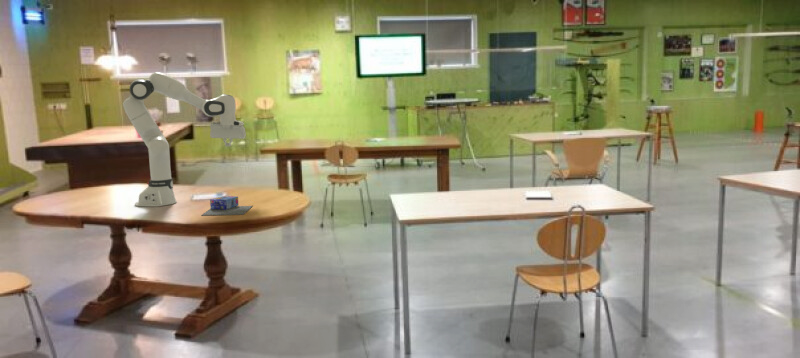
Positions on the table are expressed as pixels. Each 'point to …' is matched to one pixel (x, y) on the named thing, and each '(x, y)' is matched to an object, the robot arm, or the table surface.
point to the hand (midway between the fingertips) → (228, 146)
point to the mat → (228, 211)
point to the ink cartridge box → (224, 202)
